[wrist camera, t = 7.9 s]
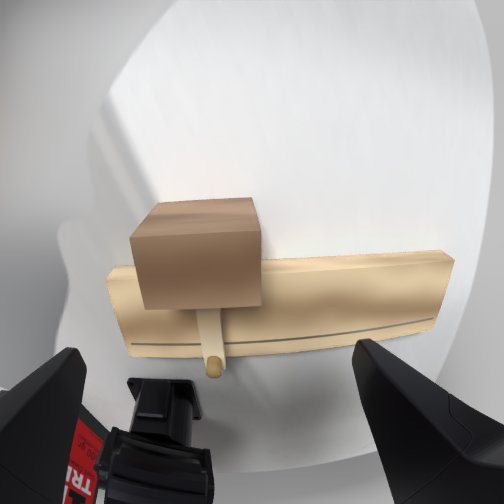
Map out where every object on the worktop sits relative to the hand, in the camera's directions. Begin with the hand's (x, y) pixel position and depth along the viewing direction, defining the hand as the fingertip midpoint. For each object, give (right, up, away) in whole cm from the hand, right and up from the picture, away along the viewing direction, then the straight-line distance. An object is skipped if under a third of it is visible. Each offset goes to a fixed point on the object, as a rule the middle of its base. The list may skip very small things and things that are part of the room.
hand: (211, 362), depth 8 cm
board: (+4, 0, +14) cm, 14 cm away
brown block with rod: (-2, +2, +12) cm, 12 cm away
